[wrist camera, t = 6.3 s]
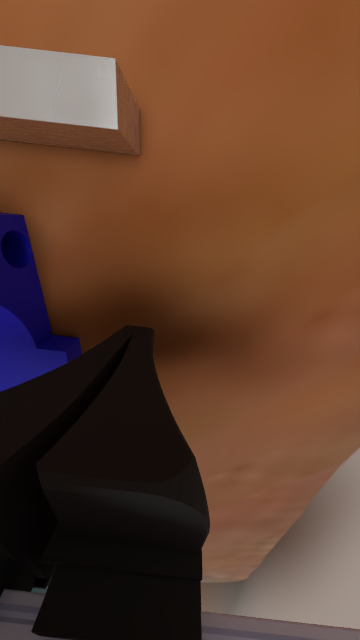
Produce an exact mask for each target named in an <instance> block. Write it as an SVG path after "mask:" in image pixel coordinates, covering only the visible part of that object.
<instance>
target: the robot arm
mask: <svg viewBox="0 0 360 640" xmlns="http://www.w3.org/2000/svg"><path fill="white" fill-rule="evenodd" d="M153 340H154V330H153V329H152V328H146V327H137V326H128V325H127V326H125V327H123V328H122V329H121V330H119V331H118V332H116V333H115V334H113V335H112V336H110V337H109V338H107V339H106V340H104V341H103V342H102V343H100V344H99V345H97V346H95V347H94V348H92V349H90V350H89V351H87V352H85V353H84V354H82V355H80V356H79V357H77V358H75V359H73V360H71V361H70V362H68V363H66V364H64V365H62V366H60V367H58V368H56V369H54V370H52V371H49V372H47V373H45V374H43V375H40V376H38V377H36V378H33V379H31V380H28V381H26V382H24V383H21V384H19V385H17V386H14V387H11V388H9V389H6V390H3V391H1V392H0V640H360V629H351V628H343V627H333V626H324V625H316V624H306V623H298V622H290V621H281V620H272V619H263V618H254V617H246V616H236V615H228V614H219V613H211V612H202V611H201V585H200V581H201V580H202V547H203V544H204V542H205V540H206V538H207V536H208V533H209V528H210V518H209V511H208V505H207V500H206V495H205V491H204V487H203V483H202V479H201V476H200V472H199V469H198V466H197V462H196V458H195V456H194V454H193V452H192V451H191V449H190V447H189V446H188V444H187V442H186V440H185V439H184V437H183V435H182V433H181V431H180V429H179V427H178V425H177V423H176V421H175V419H174V417H173V415H172V413H171V411H170V408H169V406H168V404H167V401H166V399H165V397H164V394H163V391H162V389H161V386H160V383H159V380H158V376H157V373H156V369H155V364H154V360H153ZM47 586H48V589H47V592H46V594H44V593H35V592H31V590H32V588H41V589H46V587H47Z"/></svg>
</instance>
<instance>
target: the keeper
mask: <svg viewBox="0 0 360 640" xmlns="http://www.w3.org/2000/svg"><path fill="white" fill-rule="evenodd" d="M0 140H8V141H17V142H26V143H35V144H44V145H52V146H61V147H70V148H79V149H88V150H96V151H105V152H114V153H123V154H132V155H140V109H139V107H138V104H137V102H136V100H135V98H134V96H133V94H132V92H131V90H130V88H129V86H128V84H127V82H126V80H125V78H124V76H123V73H122V71H121V69H120V67H119V65H118V63H117V61H116V59H115V58H107V57H98V56H89V55H81V54H72V53H63V52H54V51H45V50H37V49H28V48H19V47H10V46H2V45H0Z"/></svg>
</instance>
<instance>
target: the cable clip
mask: <svg viewBox="0 0 360 640" xmlns="http://www.w3.org/2000/svg"><path fill="white" fill-rule="evenodd" d="M80 355H82V353H81V347H80V341H79V338H75V337H66V336H57V335H52V331H51V326H50V322H49V318H48V314H47V310H46V306H45V302H44V298H43V293H42V289H41V285H40V281H39V277H38V273H37V269H36V265H35V260H34V256H33V252H32V248H31V244H30V240H29V236H28V232H27V227H26V223H25V219H24V215H17V214H8V213H0V392H1V391H3V390H6V389H9V388H11V387H14V386H17V385H19V384H21V383H24V382H26V381H28V380H31V379H33V378H36V377H38V376H40V375H43V374H45V373H47V372H49V371H52V370H54V369H56V368H58V367H60V366H62V365H64V364H66V363H68V362H70V361H71V360H73V359H75V358H77V357H79V356H80Z"/></svg>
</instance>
